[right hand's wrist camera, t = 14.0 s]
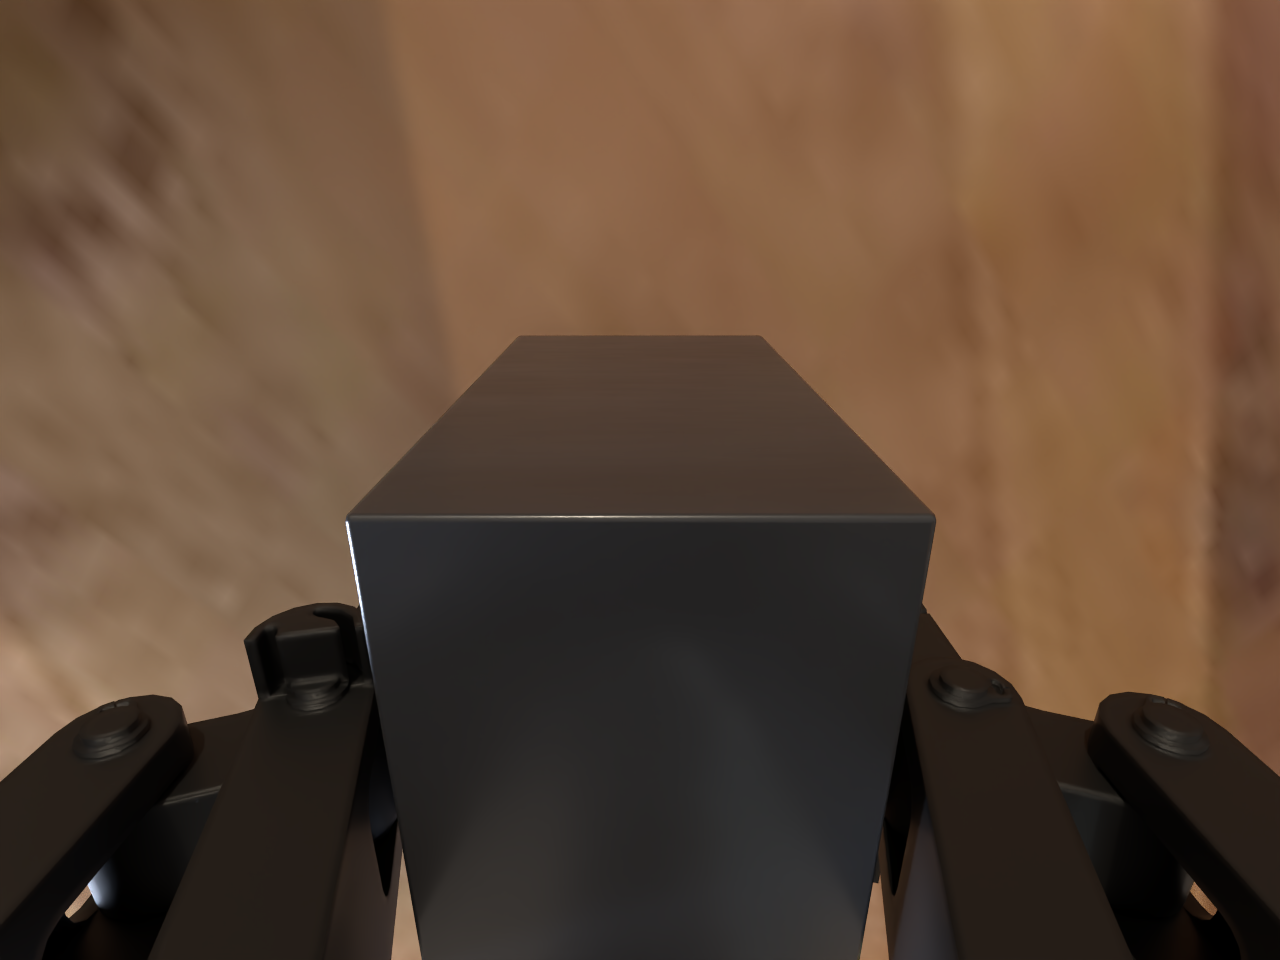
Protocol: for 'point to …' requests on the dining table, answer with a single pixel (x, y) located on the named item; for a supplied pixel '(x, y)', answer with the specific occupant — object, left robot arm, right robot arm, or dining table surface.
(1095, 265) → the dining table surface
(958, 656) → the right robot arm
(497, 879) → the dark gray block
